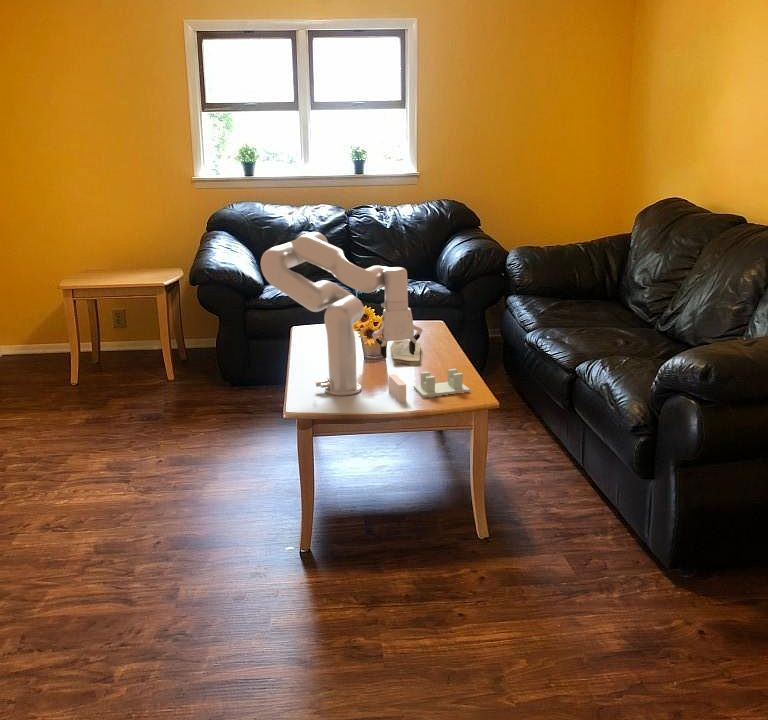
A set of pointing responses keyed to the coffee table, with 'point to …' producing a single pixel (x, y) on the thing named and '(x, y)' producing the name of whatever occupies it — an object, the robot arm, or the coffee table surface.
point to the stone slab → (405, 353)
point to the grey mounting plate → (441, 385)
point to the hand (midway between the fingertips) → (398, 355)
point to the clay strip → (397, 388)
